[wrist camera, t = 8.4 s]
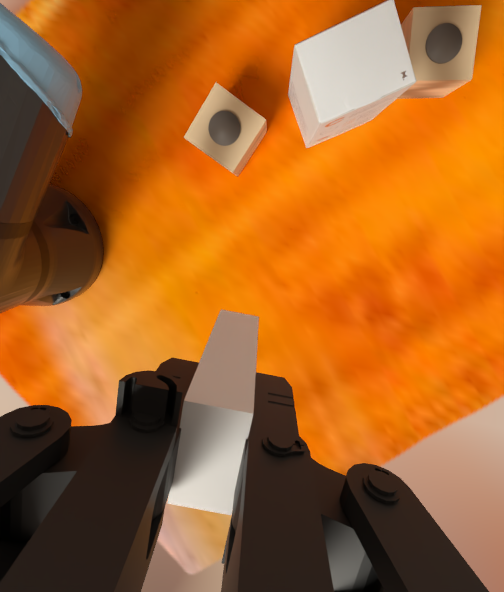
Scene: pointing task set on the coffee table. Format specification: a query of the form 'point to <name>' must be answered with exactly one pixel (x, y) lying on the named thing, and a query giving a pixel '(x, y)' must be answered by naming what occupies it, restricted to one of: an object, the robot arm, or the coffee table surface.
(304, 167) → the coffee table surface
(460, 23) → the marked block
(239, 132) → the marked block
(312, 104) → the small box
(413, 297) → the coffee table surface
